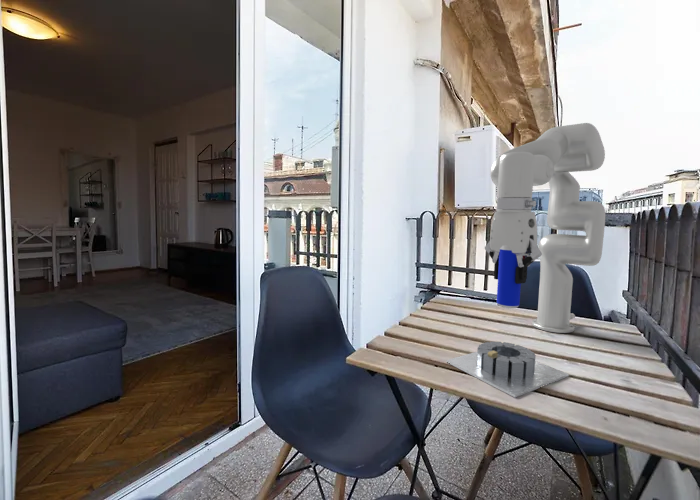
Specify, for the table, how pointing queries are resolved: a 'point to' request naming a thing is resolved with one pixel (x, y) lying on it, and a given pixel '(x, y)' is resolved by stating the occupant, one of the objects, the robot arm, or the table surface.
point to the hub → (507, 368)
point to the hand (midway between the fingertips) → (509, 280)
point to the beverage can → (507, 279)
